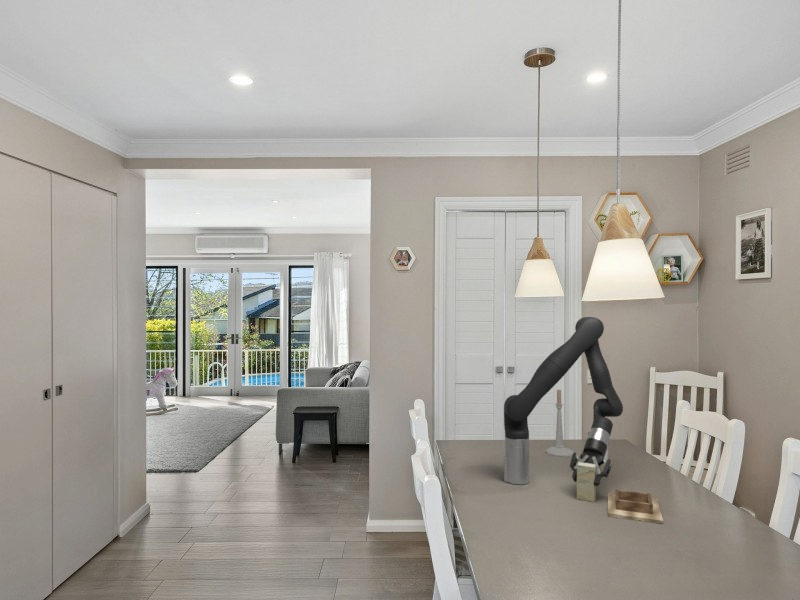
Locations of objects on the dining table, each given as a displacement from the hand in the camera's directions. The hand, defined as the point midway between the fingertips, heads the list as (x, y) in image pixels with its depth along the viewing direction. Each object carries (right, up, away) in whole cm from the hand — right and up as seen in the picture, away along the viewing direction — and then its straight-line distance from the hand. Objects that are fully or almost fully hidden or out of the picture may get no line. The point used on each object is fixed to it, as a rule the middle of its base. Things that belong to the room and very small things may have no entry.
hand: (584, 482), depth 179 cm
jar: (+23, -7, +48) cm, 54 cm away
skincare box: (+1, -6, +1) cm, 6 cm away
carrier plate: (+13, -6, -8) cm, 17 cm away
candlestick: (+10, -8, +60) cm, 61 cm away
